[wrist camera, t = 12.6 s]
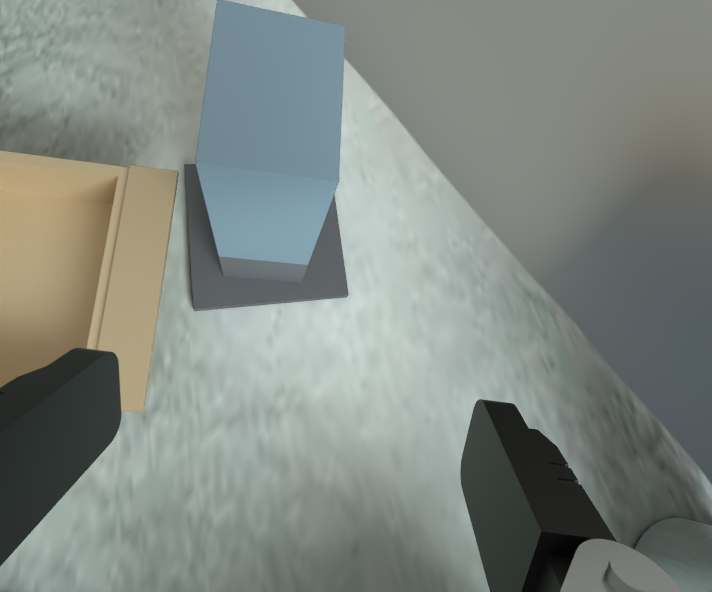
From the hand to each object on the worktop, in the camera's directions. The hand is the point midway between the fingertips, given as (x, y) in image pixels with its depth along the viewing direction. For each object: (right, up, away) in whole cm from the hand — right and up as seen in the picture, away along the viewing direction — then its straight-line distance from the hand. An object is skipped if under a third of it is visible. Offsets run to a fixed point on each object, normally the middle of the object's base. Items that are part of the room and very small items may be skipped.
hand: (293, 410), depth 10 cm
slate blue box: (-5, +7, +20) cm, 22 cm away
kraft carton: (-18, +3, +16) cm, 24 cm away
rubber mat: (-5, +7, +20) cm, 22 cm away
